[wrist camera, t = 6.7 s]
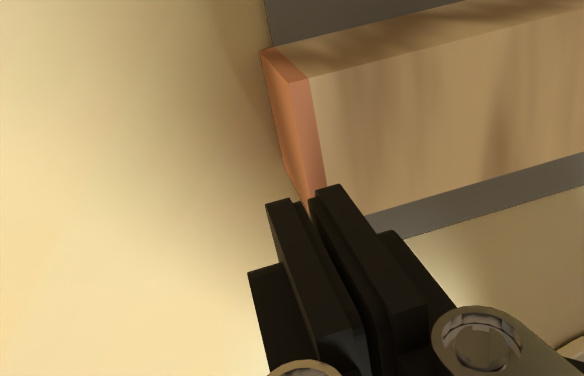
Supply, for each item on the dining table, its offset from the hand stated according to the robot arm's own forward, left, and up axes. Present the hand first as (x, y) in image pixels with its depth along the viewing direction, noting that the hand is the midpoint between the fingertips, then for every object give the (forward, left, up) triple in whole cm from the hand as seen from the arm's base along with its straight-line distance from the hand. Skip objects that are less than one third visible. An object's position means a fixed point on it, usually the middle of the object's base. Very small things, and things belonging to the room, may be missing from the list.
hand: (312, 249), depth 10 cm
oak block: (-1, 0, -7) cm, 7 cm away
